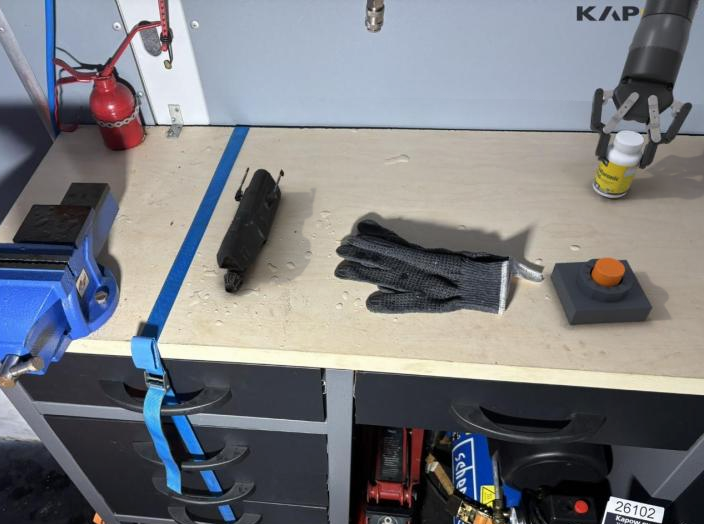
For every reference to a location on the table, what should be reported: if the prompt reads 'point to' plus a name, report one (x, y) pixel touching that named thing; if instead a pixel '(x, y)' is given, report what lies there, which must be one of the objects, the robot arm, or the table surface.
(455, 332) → the table surface
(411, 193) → the table surface
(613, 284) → the orange button cap
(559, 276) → the button housing
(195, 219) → the table surface
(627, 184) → the supplement bottle
